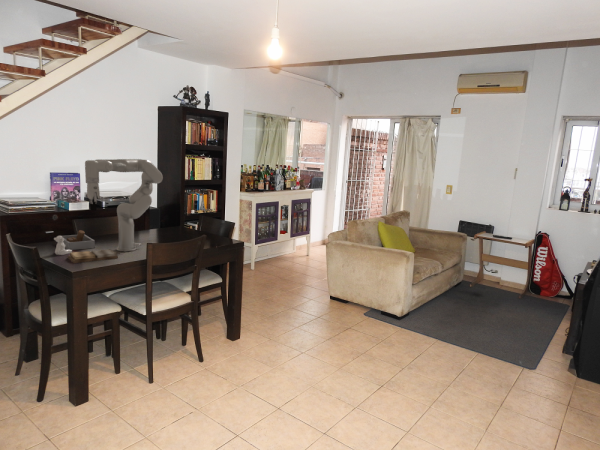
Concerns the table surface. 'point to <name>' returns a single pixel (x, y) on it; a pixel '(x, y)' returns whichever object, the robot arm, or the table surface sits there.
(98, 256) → the floor board
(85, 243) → the block crate
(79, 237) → the wooden block set
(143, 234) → the table surface
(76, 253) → the oak plank
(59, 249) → the sitting furry creature
